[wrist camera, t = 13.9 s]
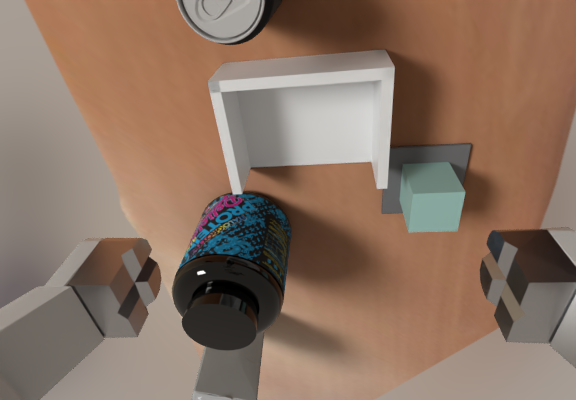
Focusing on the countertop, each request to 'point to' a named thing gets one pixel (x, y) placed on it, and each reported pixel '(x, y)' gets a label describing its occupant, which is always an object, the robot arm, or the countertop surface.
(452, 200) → the block
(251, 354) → the skincare box
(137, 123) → the countertop surface
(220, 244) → the container
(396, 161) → the mat
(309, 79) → the bin
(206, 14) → the beverage can
